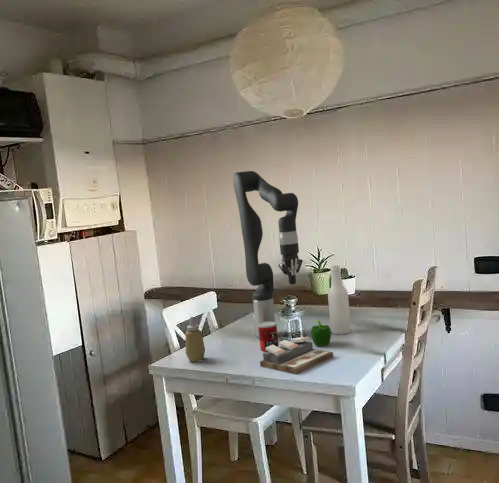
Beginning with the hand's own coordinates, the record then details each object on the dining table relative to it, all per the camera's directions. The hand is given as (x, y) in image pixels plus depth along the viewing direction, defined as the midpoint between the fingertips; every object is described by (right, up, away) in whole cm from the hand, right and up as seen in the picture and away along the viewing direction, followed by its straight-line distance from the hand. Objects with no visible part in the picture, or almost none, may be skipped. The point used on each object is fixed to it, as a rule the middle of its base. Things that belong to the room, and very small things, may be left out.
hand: (292, 284), depth 233 cm
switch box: (+1, -29, -15) cm, 32 cm away
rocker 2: (-3, -24, -12) cm, 27 cm away
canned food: (-9, -28, +5) cm, 30 cm away
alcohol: (+23, -23, +20) cm, 38 cm away
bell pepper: (+13, -26, +4) cm, 29 cm away
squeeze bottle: (-39, -31, 0) cm, 50 cm away
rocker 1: (-8, -25, -18) cm, 32 cm away
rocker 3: (+3, -23, -7) cm, 24 cm away
